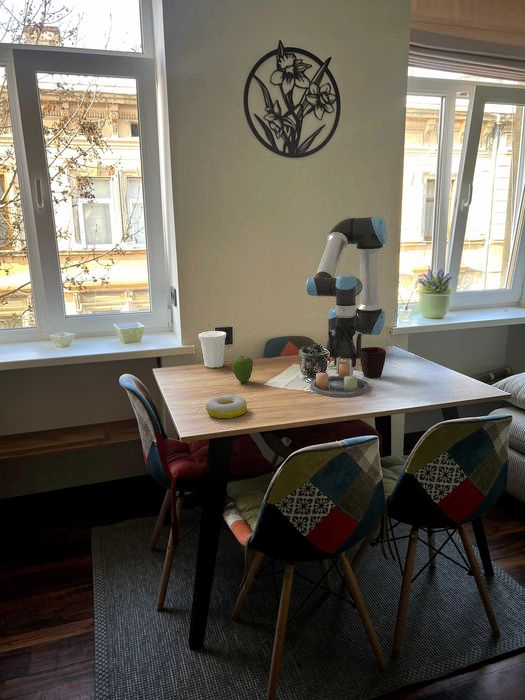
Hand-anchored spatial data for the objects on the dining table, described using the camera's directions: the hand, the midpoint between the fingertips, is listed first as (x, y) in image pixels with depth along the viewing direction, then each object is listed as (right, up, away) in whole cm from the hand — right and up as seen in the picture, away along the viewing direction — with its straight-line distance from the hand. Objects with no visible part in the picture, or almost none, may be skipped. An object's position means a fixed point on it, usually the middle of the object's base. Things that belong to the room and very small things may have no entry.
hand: (344, 373), depth 199 cm
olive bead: (0, -6, -10) cm, 12 cm away
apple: (-40, -4, +9) cm, 41 cm away
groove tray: (-3, -6, -4) cm, 8 cm away
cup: (-55, +2, +33) cm, 64 cm away
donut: (-45, -13, -24) cm, 53 cm away
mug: (+12, -2, +11) cm, 17 cm away
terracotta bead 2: (0, -1, 0) cm, 1 cm away
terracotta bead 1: (-9, -5, -5) cm, 12 cm away
